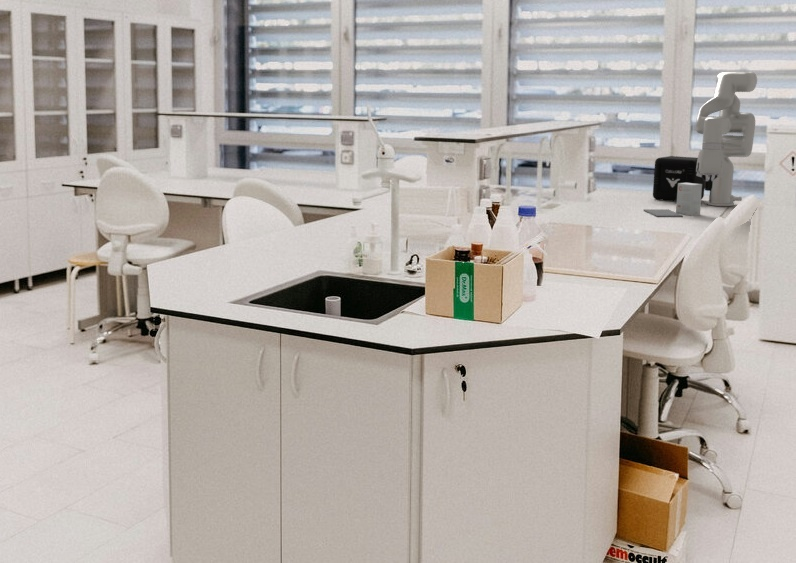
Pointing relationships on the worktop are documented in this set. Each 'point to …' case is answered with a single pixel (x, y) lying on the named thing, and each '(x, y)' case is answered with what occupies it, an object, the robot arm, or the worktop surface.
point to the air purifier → (674, 176)
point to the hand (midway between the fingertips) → (707, 190)
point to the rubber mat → (662, 213)
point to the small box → (688, 198)
